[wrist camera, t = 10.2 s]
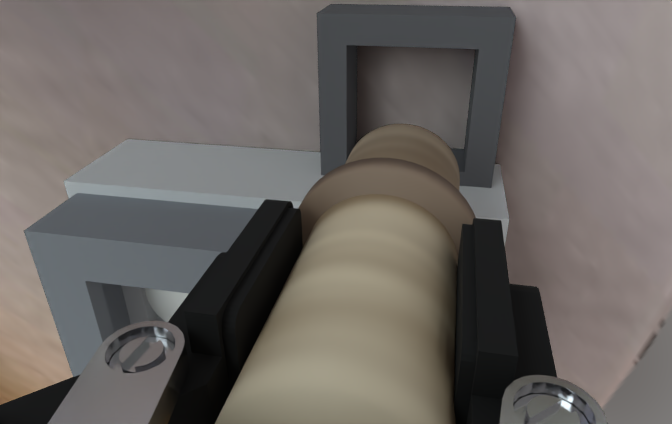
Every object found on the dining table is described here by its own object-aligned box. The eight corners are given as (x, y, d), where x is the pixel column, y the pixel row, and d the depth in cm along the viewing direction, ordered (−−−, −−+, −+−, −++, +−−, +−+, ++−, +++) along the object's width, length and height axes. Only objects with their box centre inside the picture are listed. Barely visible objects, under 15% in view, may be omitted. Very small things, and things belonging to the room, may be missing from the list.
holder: (330, 4, 22) (316, 13, 19) (510, 7, 20) (515, 17, 18) (333, 162, 25) (321, 185, 23) (486, 173, 24) (489, 199, 22)
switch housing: (127, 139, 27) (7, 217, 20) (500, 164, 23) (517, 269, 16) (171, 349, 33) (94, 465, 26) (465, 392, 30) (468, 536, 23)
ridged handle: (327, 102, 15) (150, 332, 7) (485, 110, 14) (518, 383, 6) (331, 235, 17) (199, 541, 9) (469, 248, 16) (475, 601, 8)
